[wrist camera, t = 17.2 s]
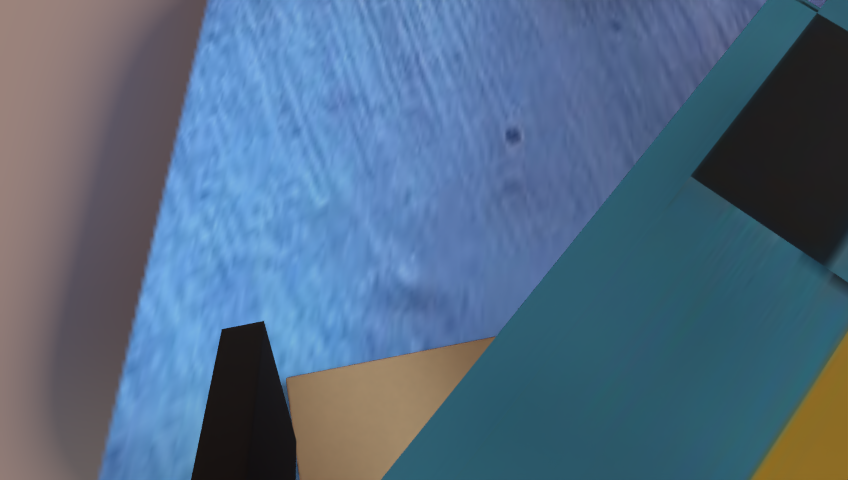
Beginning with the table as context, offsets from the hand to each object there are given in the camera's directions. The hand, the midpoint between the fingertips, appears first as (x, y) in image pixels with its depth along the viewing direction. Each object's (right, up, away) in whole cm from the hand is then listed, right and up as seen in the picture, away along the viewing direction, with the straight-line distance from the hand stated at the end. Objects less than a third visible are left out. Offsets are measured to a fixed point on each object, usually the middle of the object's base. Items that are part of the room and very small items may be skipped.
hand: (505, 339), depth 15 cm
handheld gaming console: (+1, -5, +4) cm, 7 cm away
